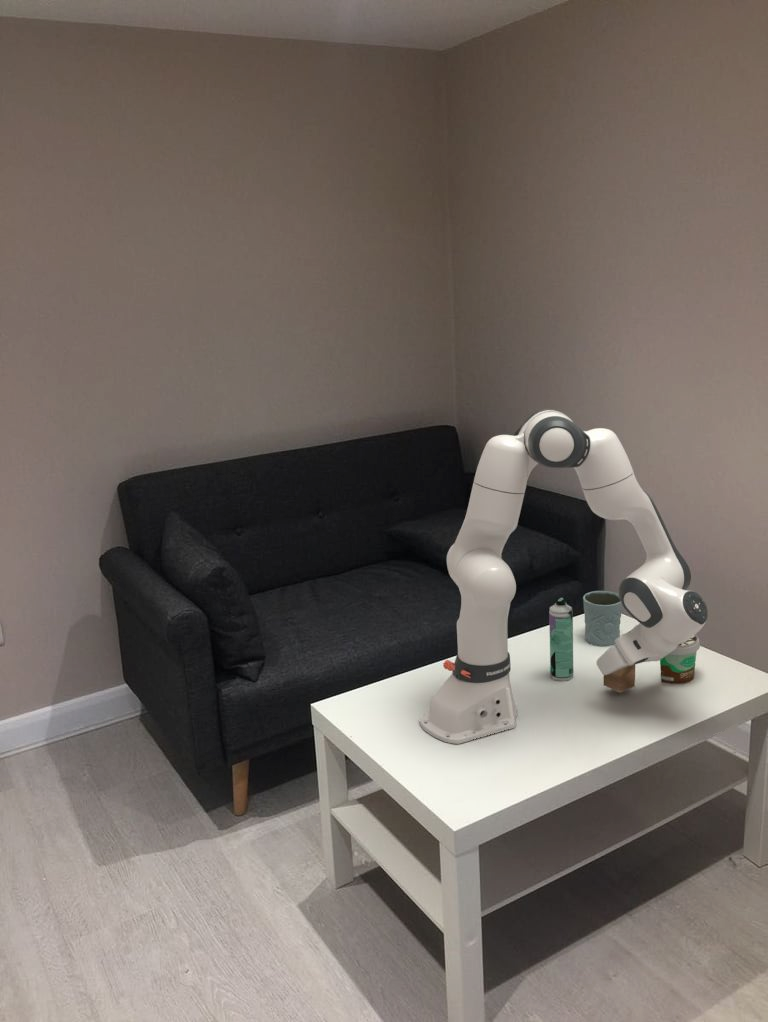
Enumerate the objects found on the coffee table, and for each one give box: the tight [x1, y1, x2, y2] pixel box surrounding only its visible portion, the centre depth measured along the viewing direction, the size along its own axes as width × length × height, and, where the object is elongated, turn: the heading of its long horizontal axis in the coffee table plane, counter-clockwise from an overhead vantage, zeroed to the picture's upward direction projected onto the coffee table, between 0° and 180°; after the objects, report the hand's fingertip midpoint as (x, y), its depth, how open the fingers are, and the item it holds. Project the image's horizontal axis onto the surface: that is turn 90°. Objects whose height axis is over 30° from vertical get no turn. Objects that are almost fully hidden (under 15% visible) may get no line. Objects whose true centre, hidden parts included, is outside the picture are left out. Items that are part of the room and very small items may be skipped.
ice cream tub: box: [659, 633, 701, 685], centre depth 215 cm, size 12×6×10 cm, turn 131°
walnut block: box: [602, 664, 636, 693], centre depth 211 cm, size 5×5×8 cm
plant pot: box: [582, 590, 623, 647], centre depth 239 cm, size 10×10×12 cm
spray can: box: [548, 597, 574, 682], centre depth 220 cm, size 6×6×20 cm
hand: (617, 666), depth 211 cm, fingers closed on walnut block, 5 cm apart
